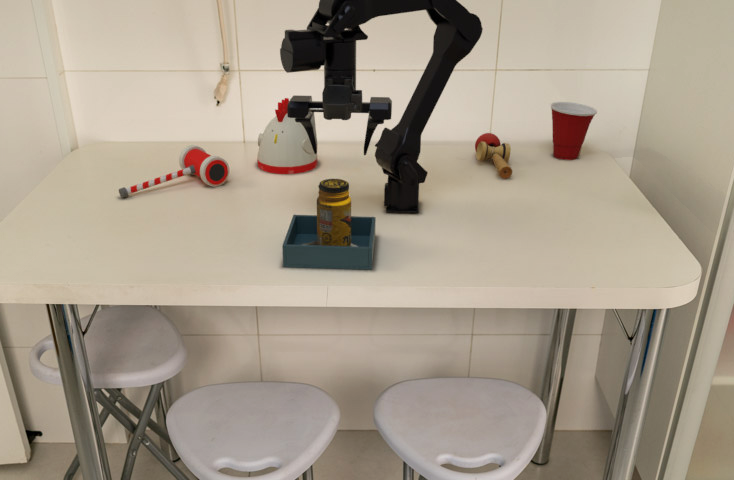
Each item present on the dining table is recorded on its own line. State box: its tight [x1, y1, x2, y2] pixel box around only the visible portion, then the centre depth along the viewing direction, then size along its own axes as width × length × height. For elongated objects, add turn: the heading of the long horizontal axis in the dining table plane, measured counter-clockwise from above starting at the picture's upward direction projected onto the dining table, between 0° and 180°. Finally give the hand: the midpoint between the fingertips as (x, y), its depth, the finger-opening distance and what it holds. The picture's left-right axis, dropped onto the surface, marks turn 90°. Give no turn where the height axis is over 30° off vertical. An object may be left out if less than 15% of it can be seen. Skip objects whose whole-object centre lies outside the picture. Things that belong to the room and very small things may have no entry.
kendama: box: [474, 132, 513, 180], centre depth 180 cm, size 8×6×18 cm
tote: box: [282, 214, 377, 271], centre depth 138 cm, size 15×14×4 cm
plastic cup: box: [550, 101, 598, 161], centre depth 185 cm, size 11×11×12 cm
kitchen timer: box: [257, 97, 318, 175], centre depth 178 cm, size 14×14×15 cm
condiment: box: [302, 178, 358, 247], centre depth 136 cm, size 7×8×12 cm
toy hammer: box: [118, 144, 230, 199], centre depth 167 cm, size 23×12×6 cm, turn 128°
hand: (340, 154), depth 146 cm, fingers open, 9 cm apart
